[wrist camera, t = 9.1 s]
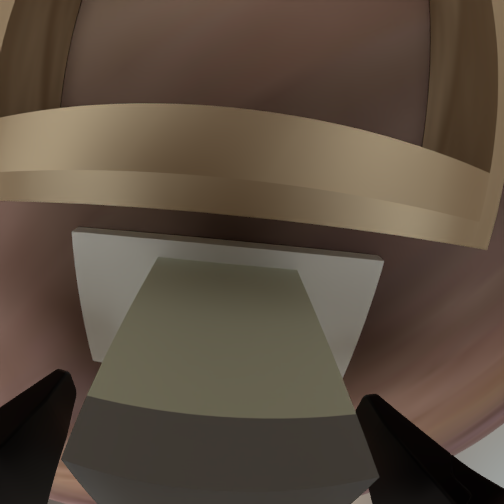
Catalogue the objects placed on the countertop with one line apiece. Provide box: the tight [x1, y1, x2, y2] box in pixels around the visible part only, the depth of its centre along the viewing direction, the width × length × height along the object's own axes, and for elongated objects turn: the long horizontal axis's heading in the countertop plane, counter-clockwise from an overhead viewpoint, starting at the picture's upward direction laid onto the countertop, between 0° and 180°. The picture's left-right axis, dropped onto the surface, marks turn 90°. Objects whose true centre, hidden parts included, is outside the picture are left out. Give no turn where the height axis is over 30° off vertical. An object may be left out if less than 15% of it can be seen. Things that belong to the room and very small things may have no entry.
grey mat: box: [72, 227, 384, 379], centre depth 12 cm, size 12×6×1 cm, turn 83°
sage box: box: [61, 257, 379, 504], centre depth 8 cm, size 5×5×8 cm
